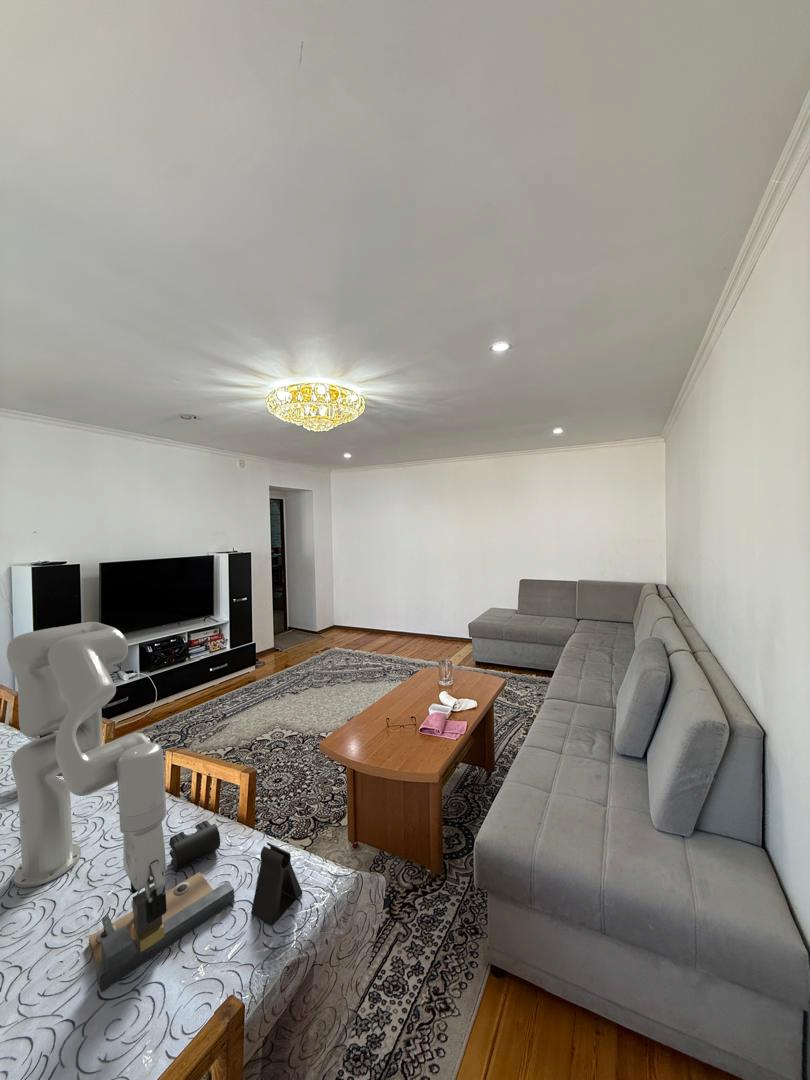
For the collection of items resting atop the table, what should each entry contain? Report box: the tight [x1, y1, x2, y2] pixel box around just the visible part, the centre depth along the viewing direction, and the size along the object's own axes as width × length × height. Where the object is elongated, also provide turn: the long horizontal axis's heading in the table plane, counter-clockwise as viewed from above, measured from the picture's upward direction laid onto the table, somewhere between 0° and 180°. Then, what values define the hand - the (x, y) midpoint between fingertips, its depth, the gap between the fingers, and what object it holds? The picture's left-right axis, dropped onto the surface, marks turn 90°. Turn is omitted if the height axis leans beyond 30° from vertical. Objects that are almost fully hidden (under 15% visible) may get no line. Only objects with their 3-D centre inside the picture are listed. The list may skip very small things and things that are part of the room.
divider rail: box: [95, 881, 235, 993], centre depth 86 cm, size 12×24×6 cm, turn 137°
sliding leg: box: [131, 885, 164, 952], centre depth 83 cm, size 12×4×9 cm, turn 47°
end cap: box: [168, 819, 221, 872], centre depth 104 cm, size 10×7×7 cm
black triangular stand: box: [250, 842, 303, 928], centre depth 91 cm, size 9×6×12 cm, turn 149°
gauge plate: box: [88, 871, 214, 965], centre depth 88 cm, size 8×21×2 cm, turn 137°
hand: (148, 902), depth 80 cm, fingers open, 9 cm apart
